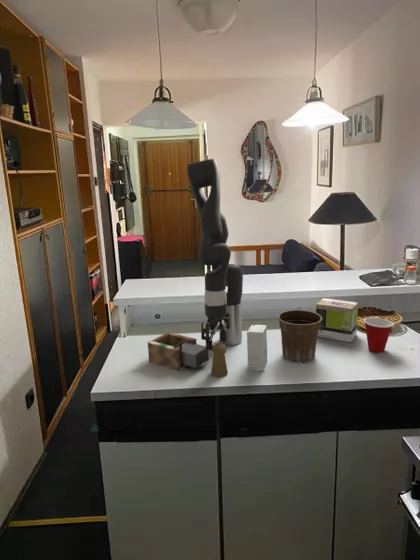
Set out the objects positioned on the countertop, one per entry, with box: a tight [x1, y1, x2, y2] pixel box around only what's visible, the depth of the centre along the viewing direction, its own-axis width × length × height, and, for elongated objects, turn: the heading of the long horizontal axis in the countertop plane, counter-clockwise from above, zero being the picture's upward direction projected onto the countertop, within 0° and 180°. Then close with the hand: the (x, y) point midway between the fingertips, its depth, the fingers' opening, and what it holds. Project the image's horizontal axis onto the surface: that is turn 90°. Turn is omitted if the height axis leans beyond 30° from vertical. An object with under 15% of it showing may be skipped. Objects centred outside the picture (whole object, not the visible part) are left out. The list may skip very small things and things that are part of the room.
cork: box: [210, 343, 229, 378], centre depth 152 cm, size 6×6×11 cm
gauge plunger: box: [174, 341, 210, 369], centre depth 157 cm, size 10×10×8 cm
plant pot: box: [277, 309, 322, 364], centre depth 162 cm, size 16×16×16 cm
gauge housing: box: [147, 331, 197, 371], centre depth 163 cm, size 14×12×8 cm
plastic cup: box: [363, 317, 394, 354], centre depth 166 cm, size 11×11×12 cm
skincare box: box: [246, 324, 268, 372], centre depth 156 cm, size 8×6×15 cm
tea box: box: [315, 297, 359, 343], centre depth 180 cm, size 15×10×15 cm, turn 58°
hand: (216, 345), depth 150 cm, fingers open, 8 cm apart
